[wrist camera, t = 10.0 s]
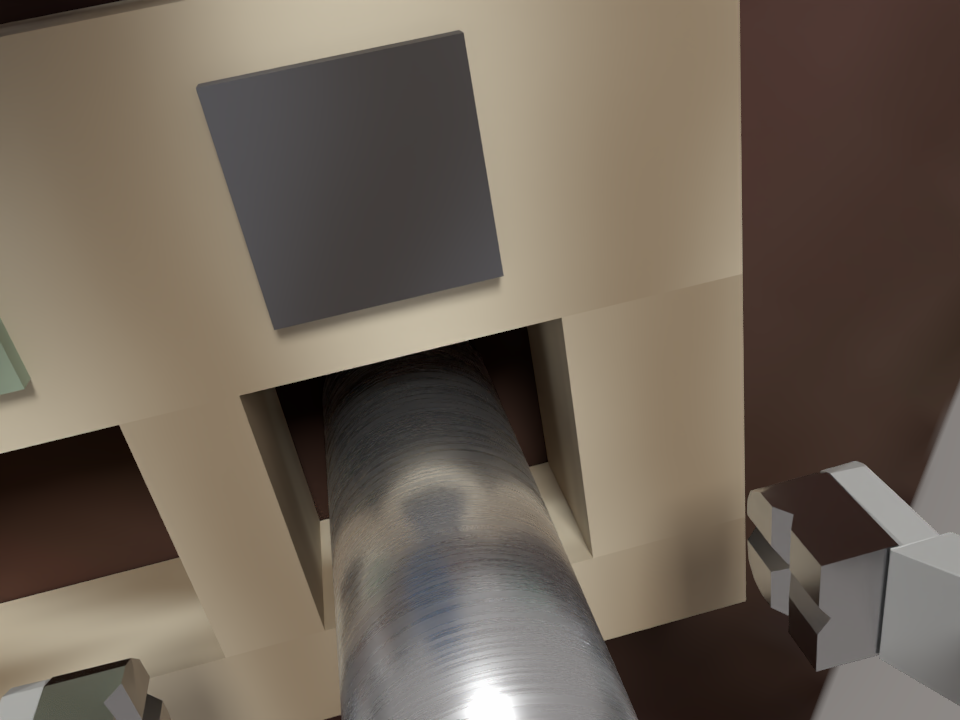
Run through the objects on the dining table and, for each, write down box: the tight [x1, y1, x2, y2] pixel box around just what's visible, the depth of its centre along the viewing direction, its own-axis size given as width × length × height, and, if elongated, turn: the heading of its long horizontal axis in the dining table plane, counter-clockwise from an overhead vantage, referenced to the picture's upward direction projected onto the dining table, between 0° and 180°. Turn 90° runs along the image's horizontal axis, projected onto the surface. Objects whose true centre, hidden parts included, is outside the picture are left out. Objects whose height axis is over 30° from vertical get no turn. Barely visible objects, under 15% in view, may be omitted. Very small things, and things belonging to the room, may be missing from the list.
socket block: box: [0, 0, 746, 720], centre depth 13 cm, size 17×12×3 cm
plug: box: [322, 340, 638, 720], centre depth 12 cm, size 3×3×10 cm
